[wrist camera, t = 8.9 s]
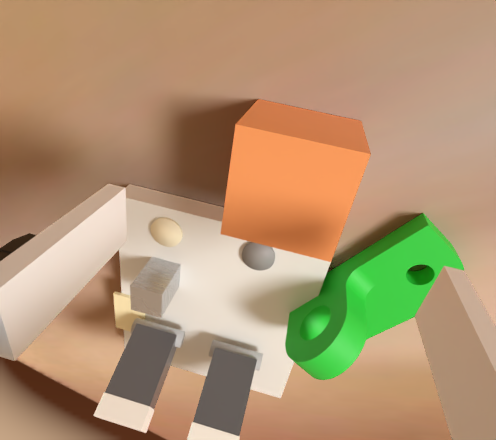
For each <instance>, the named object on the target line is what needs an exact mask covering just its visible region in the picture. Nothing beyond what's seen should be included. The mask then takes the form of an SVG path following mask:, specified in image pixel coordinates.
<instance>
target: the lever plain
mask: <svg viewBox="0 0 496 440" xmlns="http://www.w3.org/2000/svg"><path fill="white" fill-rule="evenodd" d="M209 357H212V359H211V363H210V366H209V370H208V373H207V376H206V380H205V383H204V387H203V390H202V393H201V397H200V400H199V404H198V407H197V410H196V414H195V417H194V421H193V422H192V425H191V428H190V432H189V435H188V438H187V440H239V438H240V431H241V426H242V422H243V418H244V414H245V409H246V405H247V401H248V397H249V392H250V388H251V384H252V379H253V375H254V371H255V370H257V371H259V370H260V366H261V362H262V358H263V353H259V352H256V351H252V350H249V349H245V348H242V347H238V346H235V345H231V344H228V343H224V342H221V341H217V340H213V341H212V344H211V347H210V351H209Z"/></svg>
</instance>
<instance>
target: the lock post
mask: <svg viewBox="0 0 496 440" xmlns="http://www.w3.org/2000/svg"><path fill="white" fill-rule="evenodd" d="M180 268H181V264H178V263H174V262H170V261H167V260H163V259H159V258H155V257H151V259H150V260H149V261H148V263H147V264H146V265H145V267H144V268H143V269H142V270H141V272H140V273H139V274H138V276H137V277H136V278H135V280H134V281H133V282H132V284H131V285H130V301H131V310H134V311H138V312H141V313H145V314H148V315H152V316H155V317H159V318H162V316H163V314H164V313H165V311H166V309H167V307H168V306H169V304H170V302H171V300H172V299H173V297H174V295H175V293H176V292H177V290H178V288H179V283H180Z"/></svg>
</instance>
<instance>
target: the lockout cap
mask: <svg viewBox="0 0 496 440" xmlns="http://www.w3.org/2000/svg"><path fill="white" fill-rule="evenodd" d="M370 155H371V153H370V150H369V146H368V143H367V139H366V136H365V132H364V129H363V126H362V122H361V121H359V120H355V119H350V118H345V117H340V116H336V115H331V114H326V113H322V112H317V111H312V110H308V109H303V108H298V107H293V106H289V105H284V104H279V103H275V102H270V101H265V100H261V99H258V100H257V101H256V102H255V103H254V104H253V106H252V107H251V108H250V109H249V110H248V111H247V112H246V113H245V114H244V115H243V117H242V118H241V119H240V120H239V121H238V122H237V123H236V125H235V132H234V139H233V146H232V153H231V161H230V168H229V175H228V182H227V190H226V197H225V204H224V211H223V219H222V226H221V233H220V234H222V235H226V236H230V237H234V238H238V239H242V240H246V241H250V242H254V243H258V244H261V245H265V246H269V247H273V248H277V249H281V250H285V251H289V252H293V253H297V254H301V255H305V256H309V257H313V258H317V259H321V260H324V261H328V262H331V261H332V258H333V255H334V253H335V250H336V247H337V244H338V242H339V239H340V236H341V234H342V231H343V228H344V225H345V223H346V220H347V217H348V215H349V212H350V209H351V206H352V204H353V201H354V198H355V196H356V193H357V190H358V187H359V185H360V182H361V179H362V177H363V174H364V171H365V168H366V166H367V163H368V160H369V158H370Z"/></svg>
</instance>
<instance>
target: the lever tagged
mask: <svg viewBox="0 0 496 440" xmlns="http://www.w3.org/2000/svg"><path fill="white" fill-rule="evenodd" d="M184 337H185V331H182V330H178V329H175V328H171V327H168V326H164V325H161V324H157V323H154V322H150V321H147V320H143V319H140V318H136V319H135V320H134V322H133V324H132V327H131V337H130V339H129V341H128V343H127V345H126V348H125V350H124V352H123V354H122V356H121V358H120V361H119V363H118V365H117V367H116V369H115V372H114V374H113V376H112V378H111V380H110V383H109V385H108V387H107V389H106V391H105V392H104V394H103V396H102V398H101V400H100V402H99V404H98V407H97V409H96V411H95V413H94V416H95V417H98V418H101V419H104V420H107V421H110V422H113V423H116V424H120V425H123V426H126V427H129V428H132V429H136V430H138V431H142V432H145V433H146V432H147V429H148V426H149V424H150V421H151V418H152V416H153V413H154V408H155V405H156V403H157V400H158V397H159V395H160V392H161V389H162V386H163V384H164V381H165V378H166V376H167V373H168V370H169V368H170V365H171V362H172V359H173V357H174V354H175V351H176V349H177V347H178V348H180V347H181V346H182V343H183V341H184Z"/></svg>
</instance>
